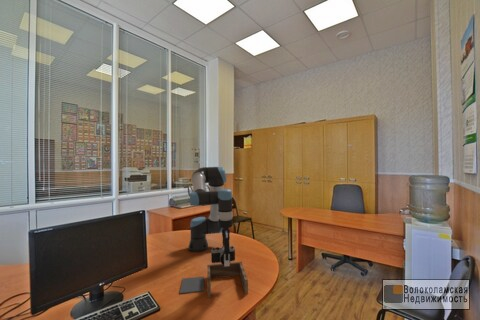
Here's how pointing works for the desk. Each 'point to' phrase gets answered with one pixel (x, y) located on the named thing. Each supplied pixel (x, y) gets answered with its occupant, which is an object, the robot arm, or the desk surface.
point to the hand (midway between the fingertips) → (226, 262)
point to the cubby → (226, 274)
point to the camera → (221, 255)
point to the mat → (192, 285)
